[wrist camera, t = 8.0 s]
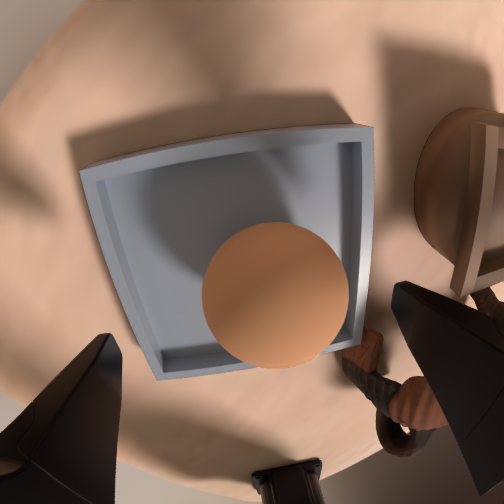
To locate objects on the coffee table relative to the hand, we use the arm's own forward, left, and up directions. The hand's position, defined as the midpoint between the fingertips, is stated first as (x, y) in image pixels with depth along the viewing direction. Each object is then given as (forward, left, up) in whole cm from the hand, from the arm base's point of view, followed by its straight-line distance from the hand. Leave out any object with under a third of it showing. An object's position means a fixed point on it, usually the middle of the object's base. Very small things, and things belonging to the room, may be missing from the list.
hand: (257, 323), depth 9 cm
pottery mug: (-8, -9, -5) cm, 13 cm away
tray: (0, 0, -4) cm, 4 cm away
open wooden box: (+2, -12, -4) cm, 13 cm away
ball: (0, -1, -1) cm, 2 cm away
